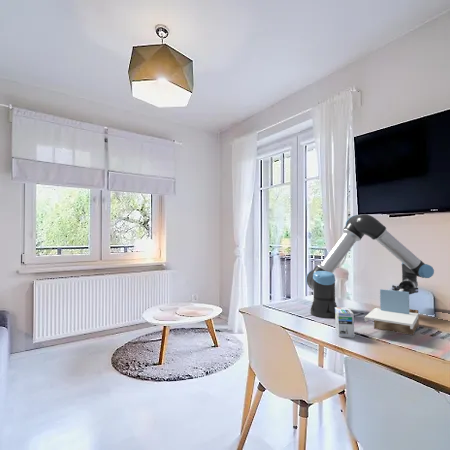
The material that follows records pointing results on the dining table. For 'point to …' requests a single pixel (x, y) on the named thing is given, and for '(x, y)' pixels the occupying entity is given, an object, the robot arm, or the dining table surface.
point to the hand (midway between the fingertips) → (399, 293)
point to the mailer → (397, 326)
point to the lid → (393, 309)
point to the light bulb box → (344, 322)
